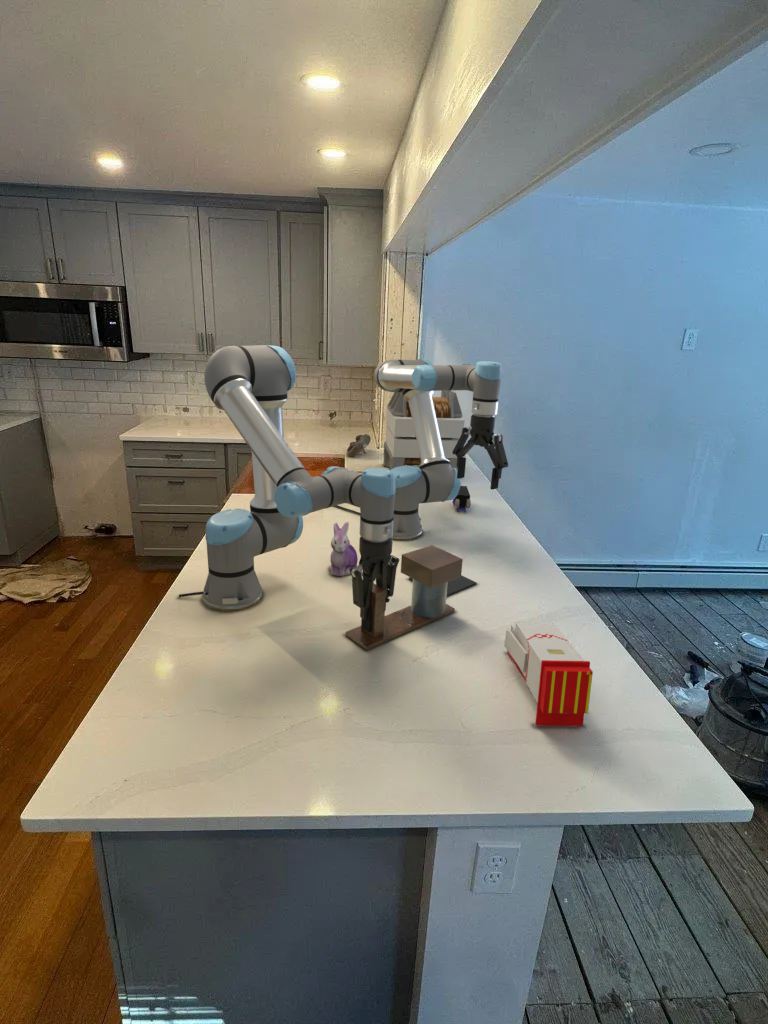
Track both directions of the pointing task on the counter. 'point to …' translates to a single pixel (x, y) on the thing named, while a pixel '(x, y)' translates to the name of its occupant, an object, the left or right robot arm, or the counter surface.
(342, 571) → the figurine
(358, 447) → the fossil
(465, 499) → the figurine character
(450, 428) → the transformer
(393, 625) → the wooden base with post
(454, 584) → the coaster
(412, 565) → the lid
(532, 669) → the toy
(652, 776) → the counter surface
